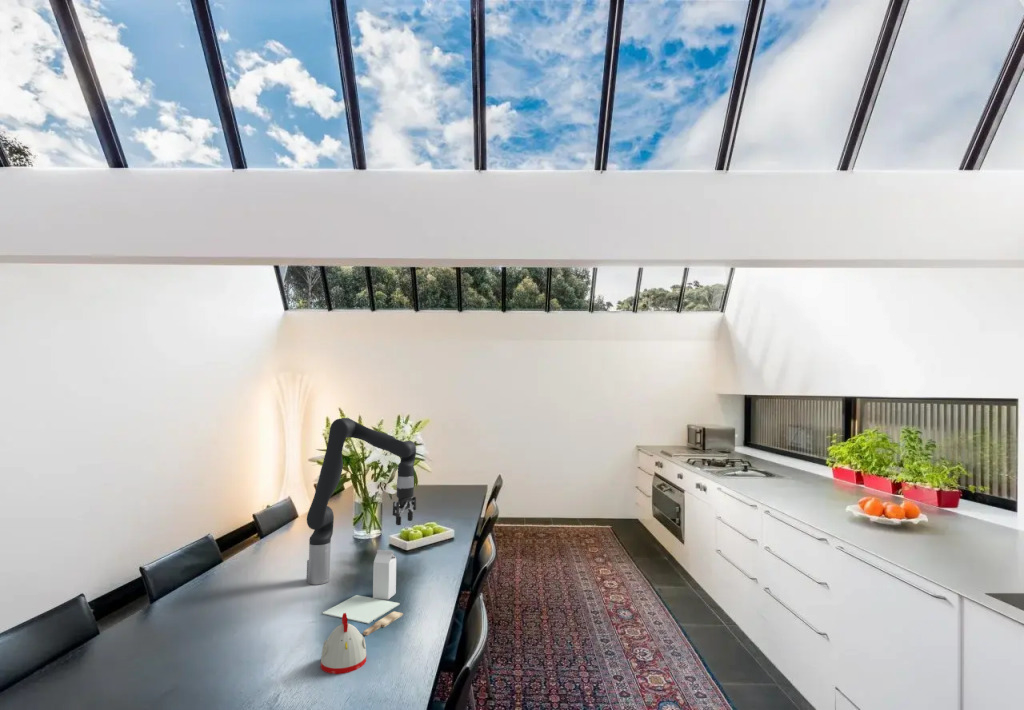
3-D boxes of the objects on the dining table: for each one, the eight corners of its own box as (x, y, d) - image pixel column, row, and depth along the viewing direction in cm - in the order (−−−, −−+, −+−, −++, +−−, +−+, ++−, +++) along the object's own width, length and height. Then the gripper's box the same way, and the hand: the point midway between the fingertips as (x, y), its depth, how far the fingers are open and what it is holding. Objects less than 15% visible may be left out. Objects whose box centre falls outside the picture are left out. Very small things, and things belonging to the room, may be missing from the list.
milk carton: (388, 600, 220) (389, 553, 222) (372, 598, 222) (373, 552, 223) (395, 594, 227) (396, 548, 229) (380, 592, 229) (381, 547, 230)
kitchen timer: (322, 677, 161) (323, 626, 162) (319, 656, 173) (320, 609, 174) (369, 668, 166) (370, 618, 167) (363, 648, 179) (364, 602, 180)
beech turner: (370, 636, 188) (370, 632, 188) (360, 634, 189) (360, 630, 189) (403, 615, 206) (403, 612, 206) (393, 613, 208) (393, 610, 208)
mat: (322, 613, 207) (322, 612, 207) (356, 595, 225) (356, 594, 225) (368, 623, 198) (368, 622, 198) (399, 604, 216) (399, 603, 216)
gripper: (407, 482, 246) (406, 518, 245) (388, 487, 233) (387, 525, 232) (421, 484, 243) (420, 520, 242) (402, 489, 230) (401, 527, 229)
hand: (404, 522), depth 237 cm, fingers open, 8 cm apart
